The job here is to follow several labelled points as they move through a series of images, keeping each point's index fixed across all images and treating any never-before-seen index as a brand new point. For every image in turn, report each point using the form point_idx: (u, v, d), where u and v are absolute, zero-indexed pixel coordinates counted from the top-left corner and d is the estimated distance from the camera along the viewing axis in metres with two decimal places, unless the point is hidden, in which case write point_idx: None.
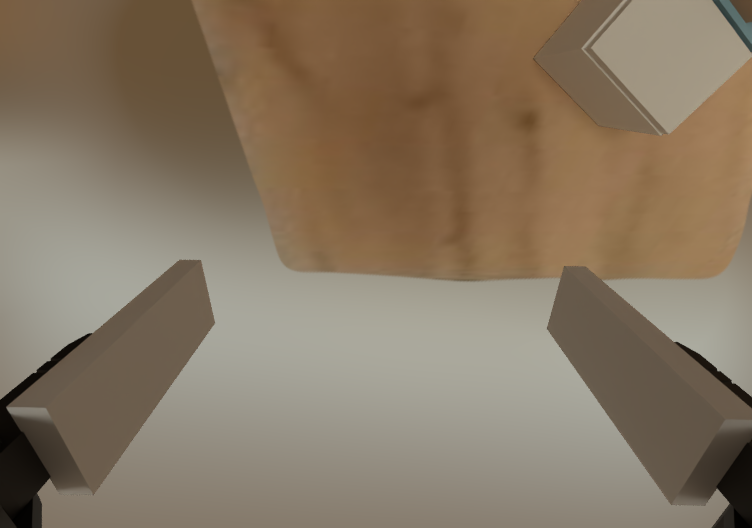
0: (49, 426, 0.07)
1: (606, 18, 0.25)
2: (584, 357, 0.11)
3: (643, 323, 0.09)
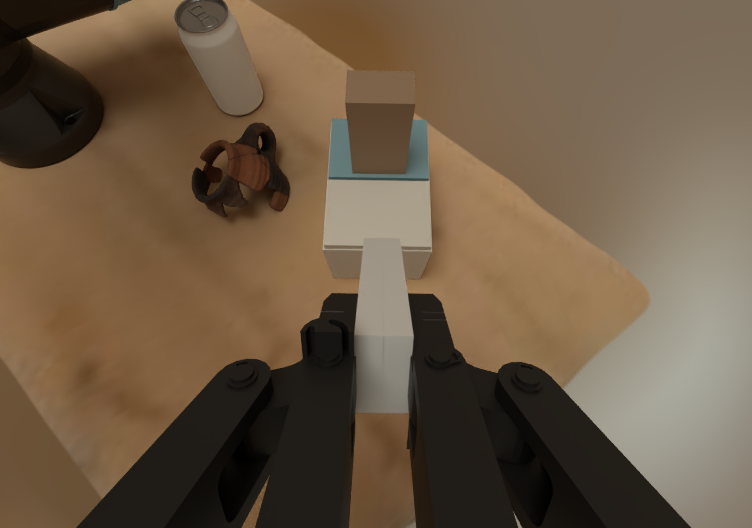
0: (378, 351, 0.09)
1: (324, 227, 0.33)
2: None
3: (398, 277, 0.12)
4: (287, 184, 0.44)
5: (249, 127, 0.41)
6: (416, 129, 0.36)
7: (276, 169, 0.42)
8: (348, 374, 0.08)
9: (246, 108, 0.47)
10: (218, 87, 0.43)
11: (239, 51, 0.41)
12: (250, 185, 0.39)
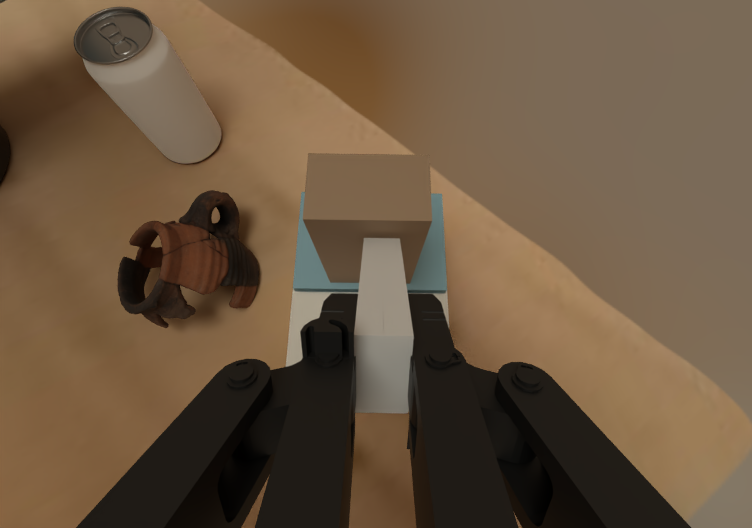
0: (378, 351, 0.09)
1: None
2: None
3: (398, 277, 0.12)
4: (256, 269, 0.32)
5: (198, 199, 0.29)
6: None
7: (239, 253, 0.30)
8: (348, 374, 0.08)
9: (197, 155, 0.35)
10: (153, 132, 0.32)
11: (176, 85, 0.29)
12: (197, 288, 0.27)
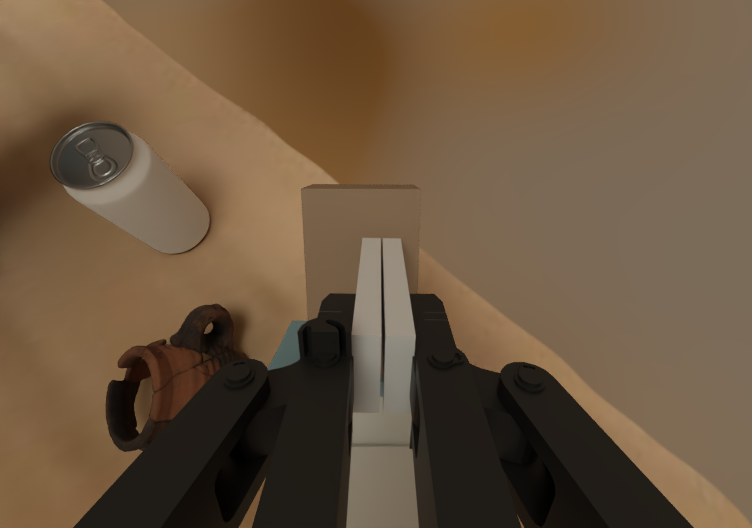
0: (375, 352, 0.09)
1: None
2: None
3: (399, 277, 0.12)
4: None
5: (189, 318, 0.27)
6: None
7: None
8: (345, 374, 0.08)
9: (184, 246, 0.34)
10: (137, 235, 0.30)
11: (159, 194, 0.28)
12: None
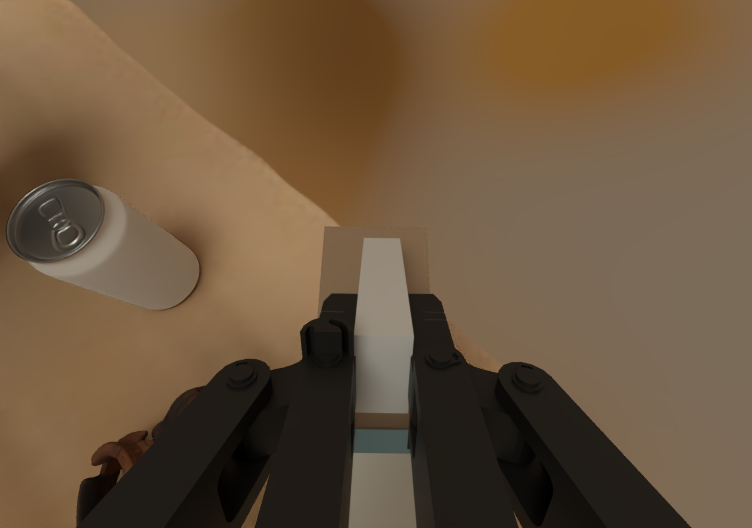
0: (378, 352, 0.09)
1: None
2: None
3: (398, 277, 0.12)
4: None
5: (174, 409, 0.24)
6: None
7: None
8: (347, 374, 0.08)
9: (170, 303, 0.30)
10: (114, 297, 0.27)
11: (137, 257, 0.24)
12: None
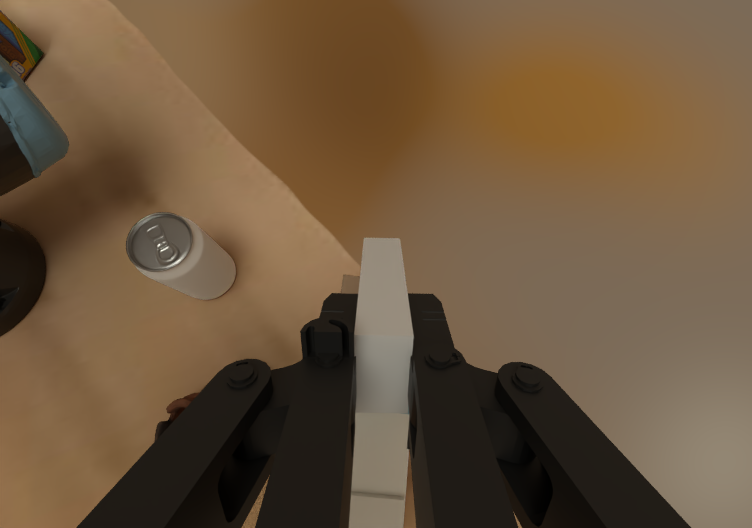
0: (378, 351, 0.09)
1: None
2: None
3: (398, 277, 0.12)
4: None
5: None
6: None
7: None
8: (348, 374, 0.08)
9: (214, 296, 0.41)
10: None
11: (205, 268, 0.35)
12: None
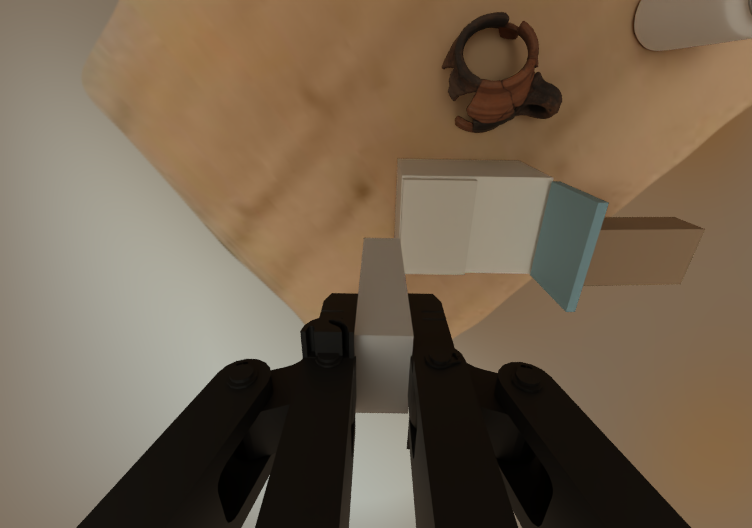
0: (378, 352, 0.09)
1: (427, 175, 0.33)
2: None
3: (398, 277, 0.12)
4: (486, 130, 0.39)
5: (553, 92, 0.33)
6: None
7: (500, 122, 0.36)
8: (348, 374, 0.08)
9: (640, 30, 0.34)
10: None
11: (714, 37, 0.28)
12: (471, 106, 0.33)
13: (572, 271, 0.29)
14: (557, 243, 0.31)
